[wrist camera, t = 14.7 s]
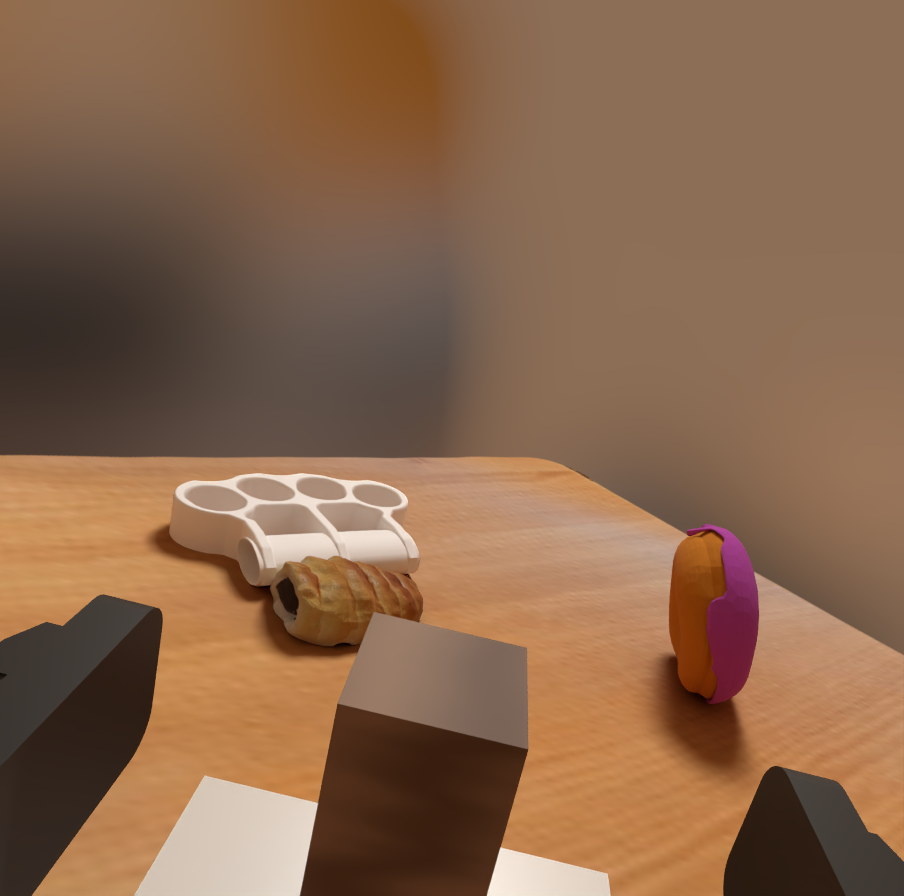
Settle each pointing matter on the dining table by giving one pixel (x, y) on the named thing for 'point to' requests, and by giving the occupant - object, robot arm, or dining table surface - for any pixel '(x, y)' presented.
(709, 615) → the donut
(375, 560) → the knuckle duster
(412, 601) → the pastry
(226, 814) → the plastic platform
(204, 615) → the dining table surface
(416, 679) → the walnut block
